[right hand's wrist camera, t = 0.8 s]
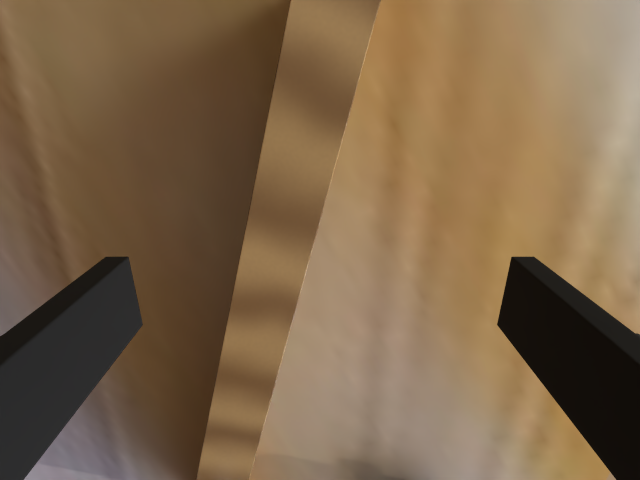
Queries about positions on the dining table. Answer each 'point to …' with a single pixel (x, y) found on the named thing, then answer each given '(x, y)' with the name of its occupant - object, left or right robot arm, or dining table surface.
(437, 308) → the dining table surface
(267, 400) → the post
